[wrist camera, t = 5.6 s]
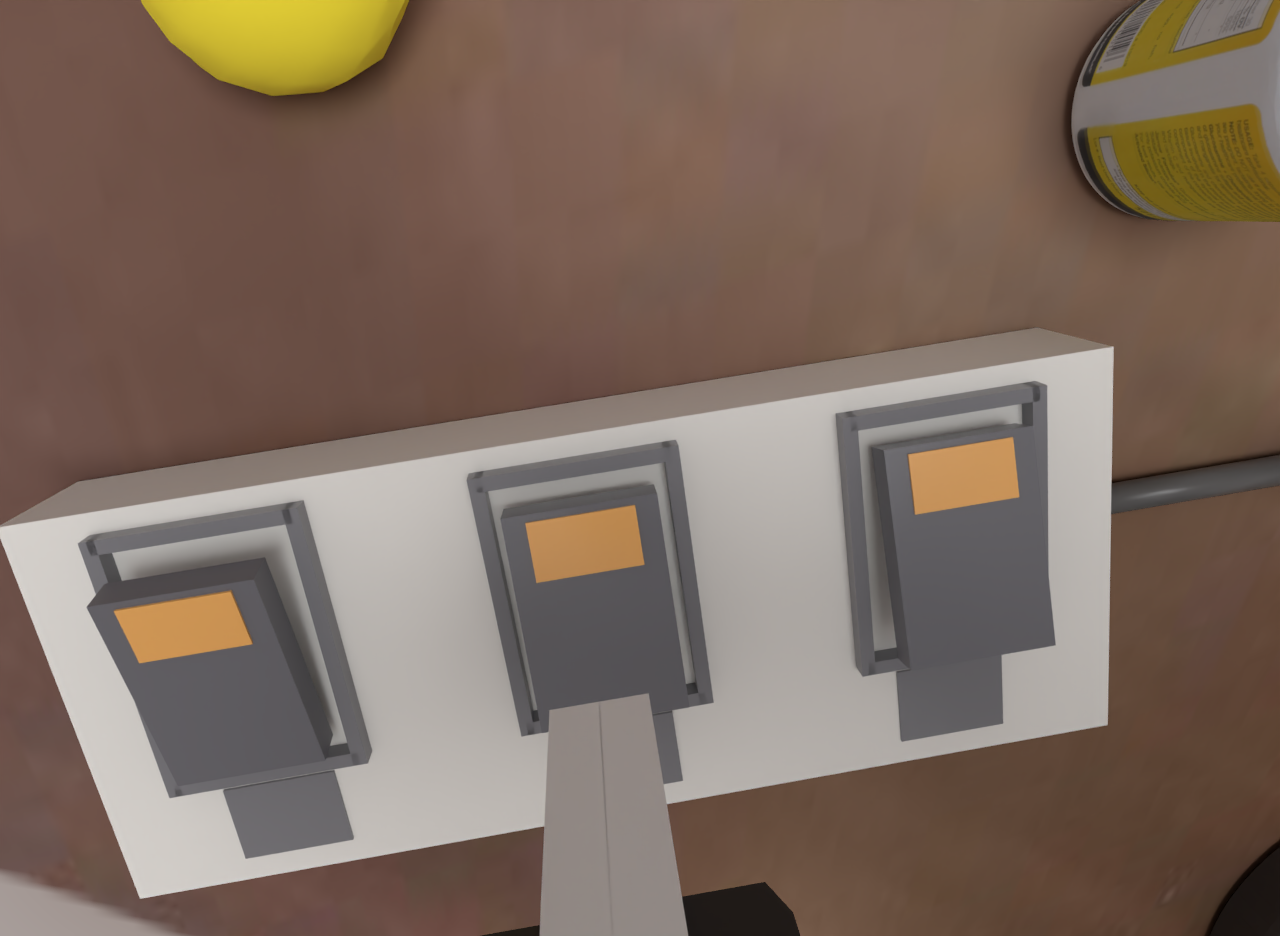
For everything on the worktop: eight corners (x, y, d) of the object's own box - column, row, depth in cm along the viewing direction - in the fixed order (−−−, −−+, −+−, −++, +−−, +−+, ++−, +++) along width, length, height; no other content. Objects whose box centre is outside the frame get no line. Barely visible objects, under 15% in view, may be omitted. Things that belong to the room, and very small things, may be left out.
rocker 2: (1036, 634, 25) (1057, 645, 24) (898, 658, 24) (912, 671, 23) (1014, 423, 24) (1034, 425, 23) (871, 446, 24) (884, 450, 23)
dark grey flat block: (685, 690, 24) (689, 708, 23) (543, 715, 24) (541, 734, 23) (653, 484, 23) (657, 494, 22) (503, 509, 23) (499, 519, 22)
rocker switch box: (1322, 612, 32) (1445, 677, 27) (194, 810, 30) (130, 914, 26) (1354, 276, 28) (1500, 289, 24) (77, 481, 26) (-19, 535, 22)
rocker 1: (333, 734, 25) (324, 762, 24) (191, 758, 25) (177, 788, 24) (265, 557, 22) (252, 580, 21) (104, 584, 22) (84, 608, 21)
